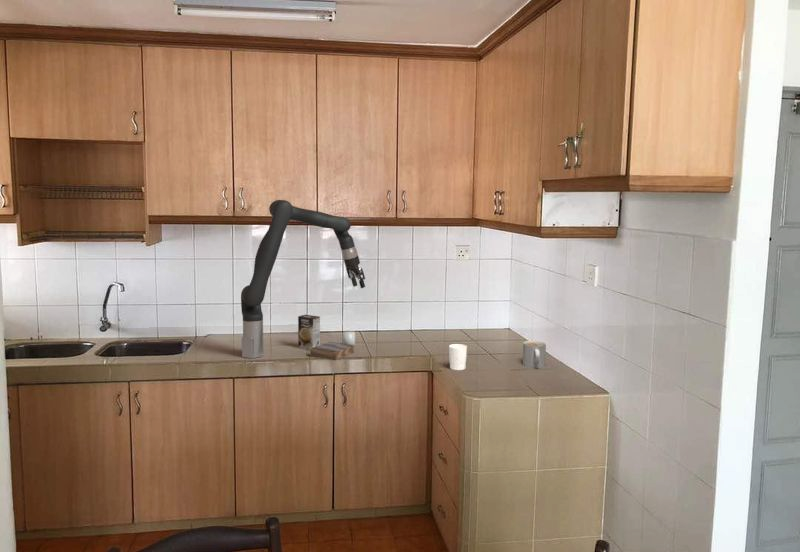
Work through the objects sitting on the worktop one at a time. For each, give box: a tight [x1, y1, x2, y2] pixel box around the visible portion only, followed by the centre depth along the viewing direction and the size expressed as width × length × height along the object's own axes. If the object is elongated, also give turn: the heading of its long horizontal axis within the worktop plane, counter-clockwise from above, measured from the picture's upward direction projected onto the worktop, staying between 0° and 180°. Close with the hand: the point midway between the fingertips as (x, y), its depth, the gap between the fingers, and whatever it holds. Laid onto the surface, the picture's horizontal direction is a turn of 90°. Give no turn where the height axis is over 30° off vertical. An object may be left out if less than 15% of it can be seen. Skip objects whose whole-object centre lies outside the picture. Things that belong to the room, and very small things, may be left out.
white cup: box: [448, 343, 468, 371], centre depth 285 cm, size 8×8×10 cm
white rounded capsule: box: [342, 330, 356, 350], centre depth 320 cm, size 6×6×8 cm
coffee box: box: [297, 314, 321, 351], centre depth 319 cm, size 9×6×16 cm
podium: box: [310, 341, 355, 361], centre depth 307 cm, size 16×14×4 cm
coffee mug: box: [522, 340, 547, 369], centre depth 290 cm, size 13×10×10 cm
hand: (359, 286), depth 324 cm, fingers open, 8 cm apart
